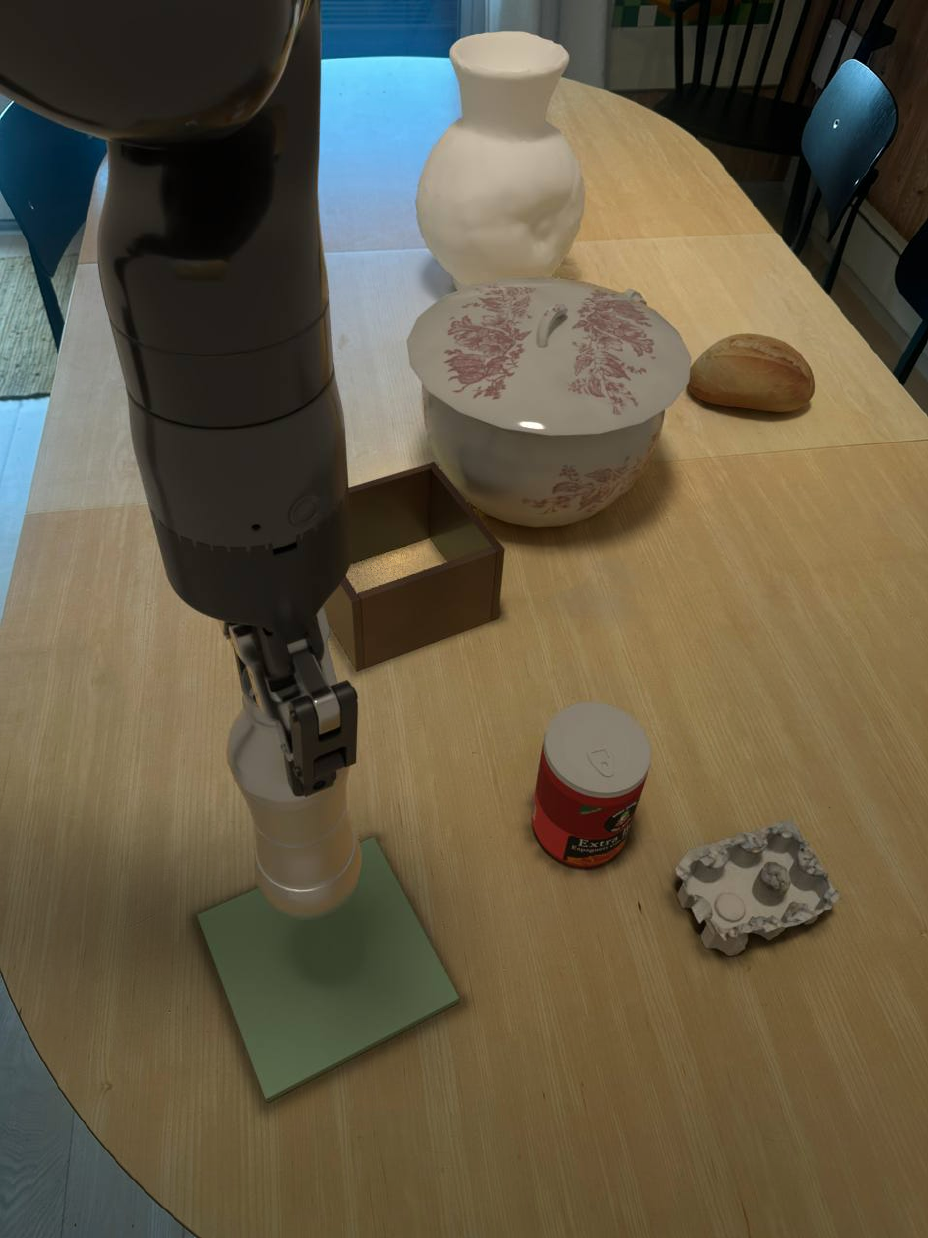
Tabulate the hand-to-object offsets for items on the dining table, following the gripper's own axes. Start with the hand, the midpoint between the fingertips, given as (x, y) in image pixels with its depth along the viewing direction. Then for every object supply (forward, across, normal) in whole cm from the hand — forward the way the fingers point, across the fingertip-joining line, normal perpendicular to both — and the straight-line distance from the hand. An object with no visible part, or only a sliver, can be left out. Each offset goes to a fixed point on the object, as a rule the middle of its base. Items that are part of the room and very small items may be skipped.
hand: (288, 734), depth 49 cm
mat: (+27, 0, 0) cm, 27 cm away
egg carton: (+27, +10, +30) cm, 42 cm away
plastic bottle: (+16, 0, 0) cm, 16 cm away
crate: (+27, -30, +20) cm, 45 cm away
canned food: (+27, -1, +22) cm, 35 cm away
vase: (+27, -77, +57) cm, 100 cm away
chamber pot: (+27, -39, +41) cm, 63 cm away
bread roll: (+27, -41, +72) cm, 87 cm away
